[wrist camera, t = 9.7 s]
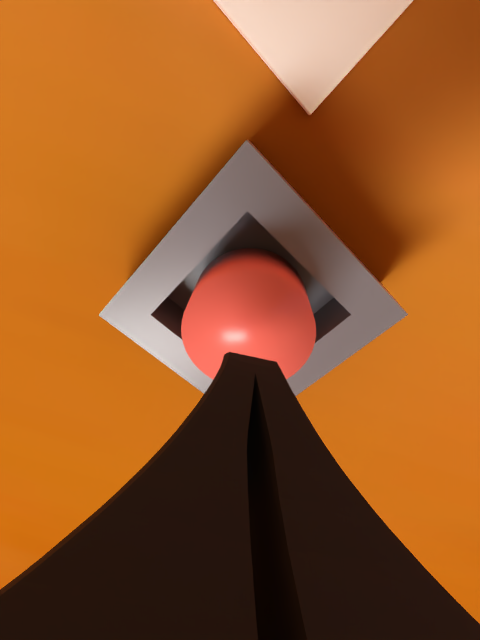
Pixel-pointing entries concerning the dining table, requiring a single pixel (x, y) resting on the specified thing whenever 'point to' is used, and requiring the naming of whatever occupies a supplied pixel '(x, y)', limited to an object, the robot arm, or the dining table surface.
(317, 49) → the paper sheet
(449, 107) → the dining table surface
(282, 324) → the button
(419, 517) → the dining table surface
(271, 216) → the button housing
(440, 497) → the dining table surface
